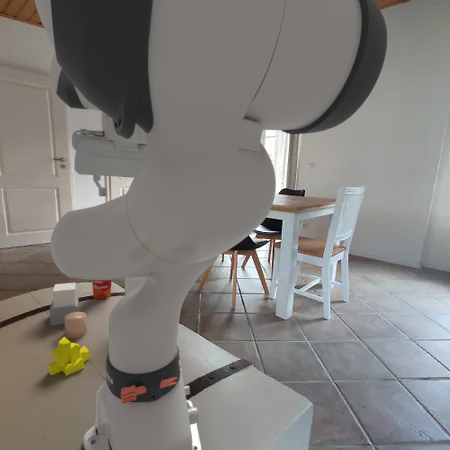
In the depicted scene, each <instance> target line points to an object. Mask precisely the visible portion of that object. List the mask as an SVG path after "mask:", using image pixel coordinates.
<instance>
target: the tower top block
mask: <svg viewBox="0 0 450 450" xmlns="http://www.w3.org/2000/svg"><path fill="white" fill-rule="evenodd" d="M76 297H77V282H65V283H58V284H57V283H56V284H54V287H53V290H52V300H53V307H54V308H58V307H66V306H75V305H76Z"/></svg>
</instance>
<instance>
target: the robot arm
mask: <svg viewBox="0 0 450 450" xmlns="http://www.w3.org/2000/svg"><path fill="white" fill-rule="evenodd" d="M34 4H35V6H36V10H37V13H38V16H39V19H40V22H41V24H42V26H43V29H44V30H45V33H46V36H47V38H48V39H49V42H50V43H51V45H52V47H53V49H54V53H53V55H52V57H51V62H50V63H51V64H50V78H51V83H52V86H53V89H54V92H55V94H56V96H57V97H58V98H59V99H60V100H61V101H62V102H63V103H65V104H66V105H67V106H68V107H69V108H70V109H77V110H78V109H79V110H80V109H81V110H93V111H100V112H103V130H97V129H96V130H95V129H93V130H92V129H87V128H80V129H79V130H75V131H74V132H73V133H72V136H71V144H72V145H71V146H72V148H73V149H74V150H75V155H74V171H75V172H76V173H77V174H78V175H84V176H85V175H86V176H87V175H88V176H92V180H93V182H94V183H95V184H94V185H96V187H97V188H98V196H99V197H107V187H105V186H103V187H102V185H101V184H100V181H101V177H117V178H118V177H120V178H133V180H132V181H131V183H130V185H129V188H128V190H127V192H126V194H123V195H120V196H118V197H115V198H113V199H111V200H109V201H106V202H104V203H101V204H98V205H93V206H89V207H84V208H80V209H75V210H70V211H67V212H66V213H65V214H63V215H62V217H61V218H60V219H59V220H58V221H57V222H56V224H55V226H54V229H53V230H52V232H51V233H52V234H51V237H50V252H51V256H52V259H53V261H54V264H55V265H56V266H57V268H58V269H59V271H60V272H62V274H64V275H65V276H66V277H67V278H69V279H79V280H91V281H92V280H112V281H113V280H125V278H135V277H145V276H147V277H146V279H145V280H144V282H143V283H142V284H141V285H140V286H139V287H138V288H137V289H135V290H134V291H132V292H130V293H129V294H127V295H126V296H125V295H124V296H122V297H121V298H120V299H119V300H118V301H117V303H116V304H115V305H114V307H112V310H111V312H110V314H109V318H108V352H107V355H106V360H105V367H104V370H105V380H104V382H103V384H102V385H101V386H100V387H99V388H98V389H97V391H96V393H95V395H96V398H95V424H94V425H92V427H90V429H88V430H87V431H86V432H85V433H84V435H83V438H82V439H83V440H82V444H83V448H84V450H203V447H202V443H201V438H200V433H199V428H198V423H199V411H198V407H197V406H194V404H193V402H192V401H191V400H189V399H187V395H190V394H191V391H190V390H191V389H190V388H191V387H190V385H185V383H184V378H183V377H184V375H183V373H184V368H183V369H182V368H181V356H180V350H179V346H178V334H179V324H180V317H181V316H180V315H181V310H182V307H183V304H184V301H185V299H186V297H187V295H188V293H189V292H190V290H191V289H192V286H193V285H194V283H195V282H196V280H198V279H199V277H200V276H201V275H202V274H203V273H204V272H205V271H206V270H207V269H209V267H211V266H213V265H214V264H215V263H216V261H217V260H218V258H219V256H220V254H223V253H225V252H226V251H229V250H230V249H232V248H233V247H235V246H237V245H238V244H239V243H241V242H242V241H243V240H244V239H246V238H247V237H248V236H250V235H251V234H252V233H254V231H255V230H256V229H258V228H259V227H260V225H261V224H263V223H264V221H265V220H266V218H267V216H268V215H269V214H270V211H271V209H272V206H273V204H274V200H275V197H276V188H277V187H276V186H277V185H276V184H277V183H276V182H277V180H276V172H275V168H274V164H273V162H272V159H271V157H270V155H269V153H268V151H267V150H266V148H265V146H264V145H263V144H262V142H261V139H262V134H263V131H281V132H284V133H285V134H289V135H305V134H313V133H319V132H323V131H327V130H330V129H333V128H335V127H339V125H341V124H342V123H344V122H346V121H347V120H348V119H350V118H351V117H352V116H353V115H354V114H355V113H356V112H357V111H358V110H359V109H361V107H362V106H363V105H364V103H365V101H366V100H367V99H368V98H369V96H370V94H371V93H372V92H373V90H374V87H375V86H376V84H377V81H378V79H379V77H380V75H381V73H382V70H383V67H384V62H385V59H386V55H387V48H388V47H387V46H388V29H387V24H386V20H385V17H384V16H383V13H382V11H381V9H380V7H379V5H378V3H376V1H375V0H34Z"/></svg>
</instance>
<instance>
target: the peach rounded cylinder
mask: <svg viewBox="0 0 450 450" xmlns="http://www.w3.org/2000/svg"><path fill="white" fill-rule="evenodd" d="M87 329H88V328H87V313H86V312H84V311H79V312H73V313H70V314H68V315H66V316H65V324H64V337H65V338H67V339H72V340H73V339H79V338H81V337H84V336H85V335H86V334H87Z"/></svg>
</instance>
